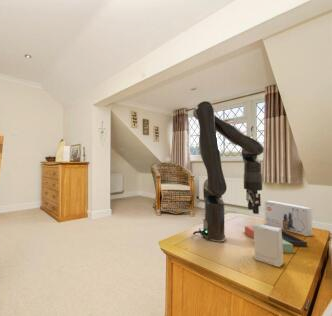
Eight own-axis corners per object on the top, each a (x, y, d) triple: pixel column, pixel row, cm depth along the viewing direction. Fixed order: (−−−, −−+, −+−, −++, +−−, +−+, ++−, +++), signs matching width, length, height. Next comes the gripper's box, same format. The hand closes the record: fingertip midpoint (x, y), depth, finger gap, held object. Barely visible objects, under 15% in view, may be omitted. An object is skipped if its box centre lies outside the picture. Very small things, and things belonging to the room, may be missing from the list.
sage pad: (279, 252, 90) (279, 243, 90) (268, 245, 98) (268, 237, 98) (293, 253, 89) (293, 244, 89) (280, 245, 97) (280, 238, 97)
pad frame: (280, 245, 98) (280, 240, 98) (255, 231, 116) (255, 227, 116) (306, 246, 96) (306, 242, 96) (278, 232, 114) (278, 228, 114)
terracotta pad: (252, 238, 106) (252, 230, 106) (244, 232, 114) (244, 226, 114) (264, 238, 106) (264, 231, 106) (255, 233, 113) (255, 226, 113)
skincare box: (264, 224, 128) (264, 200, 128) (269, 223, 130) (269, 200, 130) (307, 236, 108) (307, 208, 108) (313, 235, 110) (312, 207, 110)
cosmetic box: (283, 263, 80) (283, 228, 80) (279, 268, 77) (279, 231, 77) (258, 255, 87) (258, 222, 87) (253, 259, 84) (253, 225, 84)
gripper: (240, 178, 109) (240, 207, 109) (247, 181, 96) (248, 214, 96) (257, 179, 105) (257, 209, 105) (267, 182, 93) (267, 216, 93)
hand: (253, 211), depth 101 cm, fingers open, 8 cm apart
